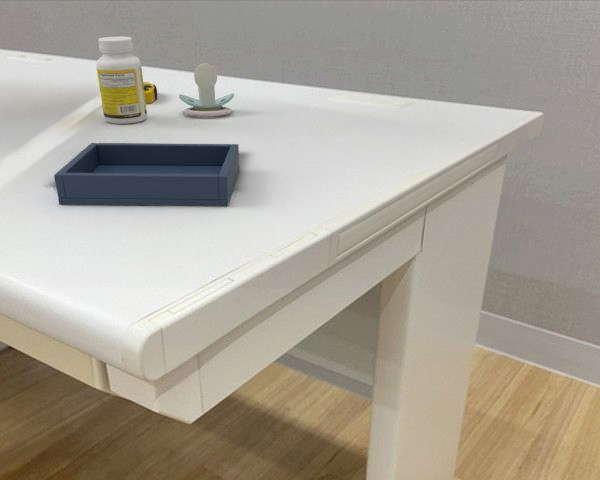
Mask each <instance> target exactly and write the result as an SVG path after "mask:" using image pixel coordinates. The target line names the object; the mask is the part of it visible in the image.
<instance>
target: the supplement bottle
mask: <svg viewBox="0 0 600 480" xmlns="http://www.w3.org/2000/svg"><path fill="white" fill-rule="evenodd" d="M97 41H98V48H99V52H100V53H102V56H100V57H99V58H98V59H97V60H96V62H95V63H96V64H95V65H96V73H97V80H98V86H99V92H100V99H101V105H102V111H103V117H104V120H105V121H106V123H110V124H117V125H118V124H119V125H122V124H123V125H125V124H126V125H128V124H136V123H139V122H143V121H145V120H146V119H147V118H148V110H147V104H146V101H145V93H144V85H143V82H144V78H143V77H144V76H143V68H142V63H141V62H142V61H141V60H140V58H139V57H138V56H137V55H133V51H134V44H133V43H134V42H133V38H132V37H131V36H106V37H100V38H98V40H97Z"/></svg>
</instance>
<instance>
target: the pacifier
mask: <svg viewBox="0 0 600 480" xmlns="http://www.w3.org/2000/svg"><path fill="white" fill-rule="evenodd" d="M193 79H194V83H195V84H196V86H197V87H198V99H197V98H194V97H190V96H188V95H185V94H180V93H179V95H178V97H179V100H181V101H182V102H183V103H185V104H186V105H189V106H191V107H187V108H185V109H183V110H182V112H183V114H185V115H187V116H191V117H219V116H224V115H226V116H227V115H229V114H231V113H232V112H233V110H232V109H231V108H229V107H226V106H224V105H226V104H228V103H230V101H232V100H233V99H234V98H235V93H230V94H226V95H224V96H222V97H219V98H216V91H215V85H216V84H217V82H218V73H217V71H216V69H215V67H214V66H213V65H212V64H210V63H206V62H204V63H200V64H198V65H197V67H196V68H195V70H194V74H193Z"/></svg>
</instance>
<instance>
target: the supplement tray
mask: <svg viewBox="0 0 600 480" xmlns="http://www.w3.org/2000/svg"><path fill="white" fill-rule="evenodd" d="M239 148H240V147H239V143H153V142H152V143H151V142H149V143H146V142H145V143H143V142H142V143H141V142H140V143H139V142H90V143H89V144H88V145H87V146H86V147H85V148H83V150H81V151H80V152H79V153H78V154H76V156H74V157H73V158H72V159H71V160H70V161H68V163H66V164H65V165H64V166H63V167H61V169H59V170H58V171H57V172H56V173H55V174H54V175H53V178H54V182H55V188H56V194H57V198H58V199H57V200H58V205H69V206H70V205H71V206H72V205H75V206H76V205H78V206H79V205H81V206H82V205H83V206H84V205H85V206H86V205H87V206H172V207H173V206H175V207H176V206H182V207H183V206H185V207H187V206H188V207H228V206H229V203H230V202H231V201H230V200H231V197H232V195H233V191H234V188H235V185H236V181H237V179H238V176H239V173H240V149H239Z"/></svg>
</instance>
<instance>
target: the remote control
mask: <svg viewBox="0 0 600 480" xmlns="http://www.w3.org/2000/svg"><path fill="white" fill-rule="evenodd" d="M143 85H144V93H145V101H146V105H147V104H152V103H153V102H155V101H157V100H158V88H157V85H155V84H154V83H151V82H148V81H143Z"/></svg>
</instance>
